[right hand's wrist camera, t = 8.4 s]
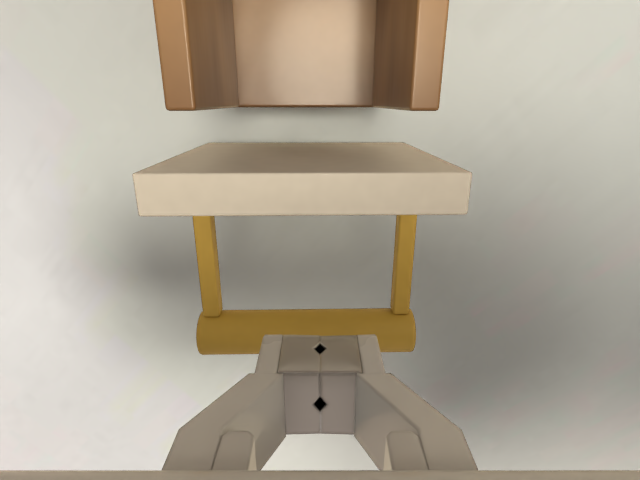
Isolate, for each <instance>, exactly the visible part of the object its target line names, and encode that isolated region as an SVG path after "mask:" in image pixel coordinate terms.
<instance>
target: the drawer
mask: <svg viewBox="0 0 640 480" xmlns="http://www.w3.org/2000/svg"><path fill="white" fill-rule="evenodd" d="M153 7H154V15H155V23H156V31H157V40H158V48H159V56H160V64H161V73H162V81H163V89H164V97H165V106H166V109H167V110H169V111H196V110H208V109H220V108H233V107H377V108H388V109H398V110H409V111H436V110H438V108H439V102H440V91H441V81H442V70H443V60H444V49H445V39H446V28H447V18H448V7H449V0H153ZM471 179H472V173H471V172H469V171H467V170H465V169H462V168H460V167H458V166H456V165H453V164H451V163H449V162H446V161H444V160H442V159H440V158H437V157H435V156H433V155H431V154H428V153H426V152H424V151H422V150H419V149H417V148H415V147H413V146H410V145H408V144H406V143H403V142H375V143H207V144H204V145H202V146H199V147H197V148H194V149H192V150H190V151H187V152H185V153H182V154H180V155H177V156H175V157H172V158H170V159H168V160H165V161H163V162H160V163H158V164H155V165H153V166H150V167H148V168H146V169H143V170H141V171H138V172H136V173H133V181H134V188H135V194H136V201H137V207H138V213H139V216H193V225H194V234H195V243H196V252H197V261H198V270H199V280H200V289H201V298H202V307H203V311H202V312H201V314H200V316H199V319H198V324H197V333H196V340H197V347H198V351H199V353H200V354H202V355H209V354H259V352H260V348H261V344H262V339H263V337H264V335H276V334H282V335H320V336H340V335H367V334H375V335H376V336H377V340H378V344H379V348H380V352H411V351H413V350H414V347H415V342H416V327H415V320H414V316H413V313H412V311H411V309H409V304H410V292H411V280H412V269H413V257H414V245H415V233H416V221H417V215H465V214H467V210H468V202H469V194H470V186H471ZM294 215H397V216H396V231H395V246H394V261H393V276H392V291H391V306H390V307H391V308H372V309H281V310H222V309H223V308H222V297H221V286H220V275H219V263H218V252H217V241H216V230H215V219H214V216H294Z"/></svg>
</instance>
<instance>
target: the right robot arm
mask: <svg viewBox="0 0 640 480" xmlns="http://www.w3.org/2000/svg"><path fill="white" fill-rule="evenodd" d="M316 433H323V434H354V436H355V438H356V439H357V440H358V442H359V443H360V445H361V446H362V447H363V449H364V450H365V451H366V453H367V454H368V455H369V457H370V458H371V459H372V461H373V462H374V463H375V465H376V466H377V467H378V469H379V470H344V471H260V470H261V469H262V468H263V466H264V465H265V464H266V462H267V461H268V460H269V458H270V457H271V456H272V454H273V453H274V452H275V450H276V449H277V448H278V446H279V445H280V444H281V442H282V441H283V440H284V438H285V437H286V434H316ZM0 480H640V470H552V471H478V468H477V466H476V464H475V461H474V459H473V456H472V454H471V452H470V449H469V447H468V444H467V442H466V439H465V437H464V435H463V432H462V430H461V429H460V428H458V427H457V426H456V425H455V424H453V423H452V422H451V421H450V420H448V419H447V418H446V417H445V416H443V415H442V414H441V413H440V412H438V411H437V410H436V409H435V408H433V407H432V406H431V405H430V404H428V403H427V402H426V401H425V400H423V399H422V398H421V397H420V396H418V395H417V394H416V393H415V392H413V391H412V390H411V389H410V388H408V387H407V386H406V385H405V384H403V383H402V382H401V381H400V380H398V379H397V378H396V377H395V376H393V375H392V374H391V373H385V369H384V365H383V361H382V357H381V352H380V348H379V344H378V340H377V336H376V335H375V334H367V335H340V336H320V335H282V334H276V335H264V337H263V339H262V344H261V348H260V352H259V356H258V361H257V365H256V369H255V373H249V374H248V375H247V376H245V377H244V378H243V379H242V380H240V381H239V382H238V383H237V384H235V385H234V386H233V387H232V388H230V389H229V390H228V391H226V392H225V393H224V394H223V395H221V396H220V397H219V398H218V399H216V400H215V401H214V402H213V403H211V404H210V405H209V406H208V407H206V408H205V409H204V410H203V411H201V412H200V413H199V414H198V415H196V416H195V417H194V418H193V419H191V420H190V421H189V422H188V423H186V424H185V425H184V426H183V427H181V428H180V429H179V430H178V433H177V435H176V437H175V440H174V442H173V445H172V447H171V449H170V452H169V454H168V456H167V459H166V461H165V464H164V466H163V468H162V471H78V470H0Z"/></svg>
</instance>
